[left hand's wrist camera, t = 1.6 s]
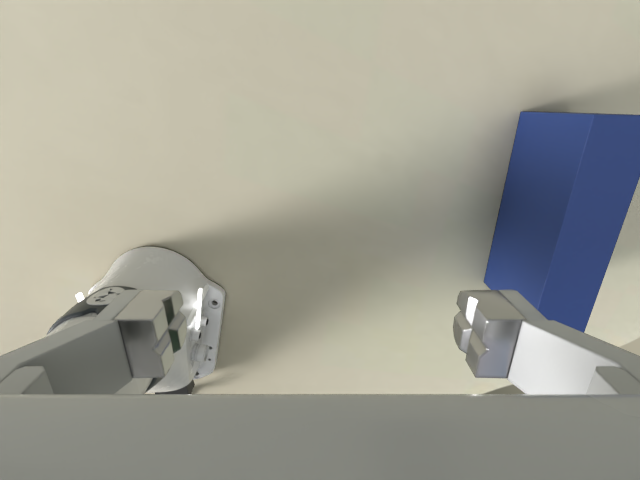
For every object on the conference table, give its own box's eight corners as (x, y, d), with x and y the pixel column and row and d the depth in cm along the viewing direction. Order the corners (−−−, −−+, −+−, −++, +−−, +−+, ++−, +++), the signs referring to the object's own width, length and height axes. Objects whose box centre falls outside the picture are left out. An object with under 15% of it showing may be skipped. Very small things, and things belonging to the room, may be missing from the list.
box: (524, 282, 49) (583, 333, 38) (483, 282, 49) (530, 332, 38) (570, 112, 41) (662, 115, 30) (520, 111, 41) (594, 114, 30)
